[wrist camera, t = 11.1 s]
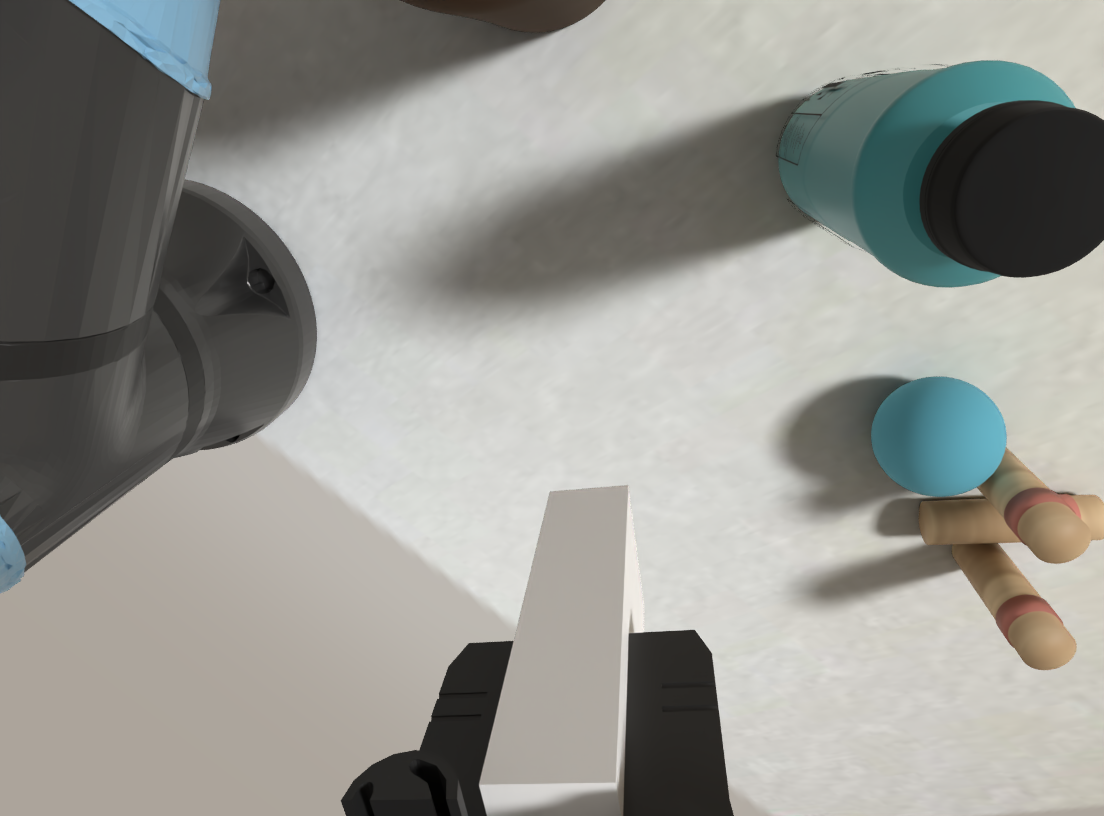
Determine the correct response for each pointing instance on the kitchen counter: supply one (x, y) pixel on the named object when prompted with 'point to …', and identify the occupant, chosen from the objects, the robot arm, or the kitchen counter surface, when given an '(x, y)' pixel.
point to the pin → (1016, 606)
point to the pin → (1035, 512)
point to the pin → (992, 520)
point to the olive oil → (516, 12)
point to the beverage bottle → (951, 171)
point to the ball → (938, 436)
